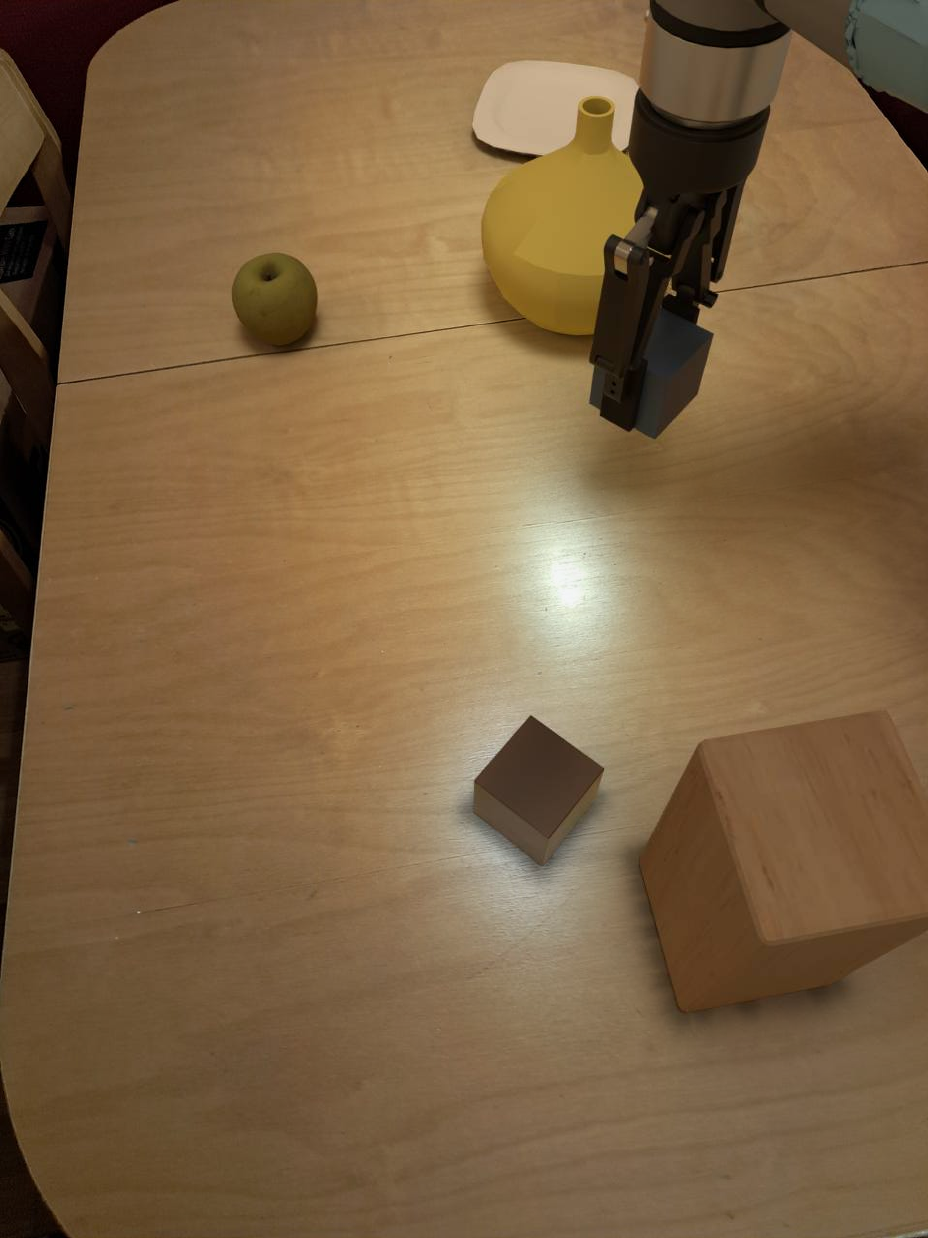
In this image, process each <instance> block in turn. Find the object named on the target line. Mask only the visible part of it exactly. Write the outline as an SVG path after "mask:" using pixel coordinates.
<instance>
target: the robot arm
mask: <svg viewBox="0 0 928 1238" xmlns="http://www.w3.org/2000/svg"><path fill="white" fill-rule="evenodd" d="M643 15H644V16H643V20H644V22H645V24H646V27H645V34H644V41H643V48H642V55H641V61H640V66H639V67H640V68H639V74H638V82H639V86H638V87H639V89H638V91H637V93H636V96H635V101H634V108H633V115H632V122H631V129H630V136H629V143H628V147H627V150H628V151H627V152H628V157H630V160H631V162H632V164H633V166H634V167H635V169H636V171H637V172H638V174H639V176H640V178H641V180H642V183H643V189H642V193H641V196H640V199H639V202H638V204H637V207H636V209H635V214H634V221H635V225H634V227H633V228H632V229H631V230H630V232H629V233H628V234H627V235H626V237H625V238H624V239H623V238H621V237H619V236H617V235H615V234H612V235H610V236H609V238H608V239H607V241H606V243H605V246H604V265H605V272H604V278H603V284H602V289H601V295H600V301H599V306H598V312H597V318H596V323H595V329H594V334H592V342H591V346H590V353H589V357H588V358H589V359H588V362H589V364H591V365H592V366H593V367H594V366H596V367H598V368H600V369H602V370H604V371H605V372H606V377H605V383H604V390H603V396H602V402H601V409H600V410H599V417H601V418H602V419H604V420H605V421H608V422H610V423H612V424H613V425H615V426H616V427H618V428H620V429H622V430H624V431H626V432H627V433H630V432H632V431H633V429H634V427H635V424H636V419H637V414H638V409H639V404H640V399H641V394H642V390H643V385H644V380H645V375H646V370H647V366H648V360H646V359H644V358H643V356H644V353H645V350H646V347H647V344H648V341H649V338H650V336H651V333H652V330H653V327H654V324H655V321H656V318H657V316H658V313H659V310H660V307H661V308H663V309H665V310H667V311H669V312H671V313H673V314H675V315H677V316H679V317H681V318H683V319H685V320H687V321H689V322H691V323H694V324H696V325H698V320H699V317H700V312H701V308H700V307H699V306H700V305H701V306H703V307H705V308H707V309H712V308H713V307H714V305H715V304H716V303H717V300H718V298H719V293H717V292H715V291H713V290H711V289H710V285H711V283H714V284H718V283H719V282H720V281H721V280H722V278H723V277H724V272H725V268H726V265H727V261H728V256H729V252H730V248H731V243H732V239H733V235H734V231H735V227H736V221H737V218H738V213H739V209H740V205H741V201H742V196H743V193H744V188H745V185H746V183H747V180H748V177H749V176H750V175H751V174H752V172H753V171H754V169H755V167H756V165H757V163H758V159H759V155H760V152H761V148H762V145H763V140H764V138H765V133H766V130H767V126H768V123H769V119H770V116H771V104H772V103H773V102H774V99H775V98H776V96H777V94H778V90H779V86H780V82H781V79H782V75H783V71H784V67H785V62H786V59H787V54H788V51H789V48H790V44H791V39H792V36H793V32H795V33H796V34H798V35H799V36H800V37H801V38H803V39H805V40H806V41H807V42H809V43H810V44H812V45H813V46H814V47H816V48H818V49H819V50H820V51H822V52H823V53H825V54H826V55H827V56H829V57H830V58H832V59H833V60H835V61H836V62H837V63H839V64H840V65H842V66H843V67H844V68H846V69H848V70H849V71H851V72H852V73H853V74H855V76H856V77H857V78H860V79H861V81H862V83H863V84H864V85H866V86H867V87H871V88H872V89H874V90H875V91H876V92H878V93H883V92H885V93H886V94H887V95H888V96H890V97H894V98H897V99H898V100H901V101H903V102H905V103H906V104H909V105H911V106H912V107H914V108H916V109H918V110H920V111H922V112H923V113H925V114H926V115H927V114H928V0H649V5H648V7H647V8H646V10H645V12H644V14H643ZM647 246H648V247H649V248H651V249H653V250H651V249H649V248H648V247H647ZM654 250H655V251H654ZM656 251H657V252H656ZM658 252H659V253H658ZM660 253H661V254H660ZM662 254H663V255H662ZM664 255H671V257H670V258H668V257H666V256H664ZM712 259H713V260H712ZM670 278H671V280H670ZM669 284H670V288H671V291H673V292H675V295H673V294H671V293H669V292H668V293H667V294H666V292H667V290H668V288H669Z"/></svg>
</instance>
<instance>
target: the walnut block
mask: <svg viewBox="0 0 928 1238" xmlns="http://www.w3.org/2000/svg"><path fill="white" fill-rule="evenodd" d="M604 771H605V767H603V766H602V765H601V764H599V763H598V762H596V761H595V760H594V759H593V758H591V757H589V756H588V755H587V754H586V753H584V752H583V751H581V750H580V749H578V748H577V747H576V746H574V745H573V744H572V743H570V742H569V741H568V740H566V739H565V738H564V737H562V736H560V735H559V734H558V733H556V731H554V730H553V729H551V728H550V727H548V726H547V725H546V724H544V723H543V722H541V720H539V719H538V718H536V717H535V716H533V715H532V714H530V715H529V716H528V717H527V718H526V719H525V721H523V722H522V724H521V725H520V726H519V727H518V728H517V730H516V731H515V732H514V733H513V734H512V735H511V737H509V739H508V740H507V741H506V742H505V744H504V745H503V746H502V747H501V749H499V751H498V752H497V753H496V754H495V755H494V757H493V758H492V759H491V760H490V761H489V762H488V764H487V765H486V766H485V767H484V768H483V769H482V770H481V772H479V774H478V775H477V776H476V777H475V778H474V780H473V813H474V814H475V815H476V816H478V817H479V818H480V819H481V820H483V821H484V822H485V823H487V824H488V825H489V826H490V827H492V828H493V829H494V830H496V831H497V832H498V833H499V834H501V835H502V836H503V837H504V838H505V839H507V840H508V841H509V842H510V843H512V844H513V845H514V846H516V847H517V848H518V849H520V850H521V851H522V852H523V853H525V854H526V855H527V856H528V857H530V858H531V859H532V860H533V861H535V862H536V863H537V864H538V865H540V866H541V867H544V866H545V865H546V863H547V862H548V861H549V859H550V858H551V857H552V856H553V854H554V853H555V852H556V851H557V849H558V848H559V846H561V844H562V843H563V842H564V841H565V839H566V838H567V836H568V835H569V834H570V833H571V832H572V830H573V829H574V827H576V825H577V824H578V822H579V821H580V820H581V819H582V818H583V816H584V815H585V813H586V812H587V811H588V810H589V809H590V807H591V806H592V805H593V804H594V802H595V800H596V796H597V793H598V790H599V787H600V784H601V781H602V778H603V775H604Z"/></svg>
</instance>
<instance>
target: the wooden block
mask: <svg viewBox="0 0 928 1238" xmlns="http://www.w3.org/2000/svg"><path fill="white" fill-rule="evenodd" d="M638 863H639V867H640V870H641V875H642V878H643V881H644V886H645V889H646V893H647V896H648V901H649V904H650V907H651V911H652V914H653V918H654V922H655V923H654V924H655V926H656V929H657V933H658V937H659V941H660V944H661V948H662V952H663V956H664V959H665V963H666V966H667V970H668V975H669V977H670V980H671V981H670V982H671V985H672V988H673V992H674V995H675V999H676V1003H677V1006H678V1007H679V1009H680V1010H681V1011H682V1012H685V1013H691V1012H692V1013H693V1012H696V1011H703V1010H708V1009H712V1008H718V1007H724V1006H728V1005H733V1004H738V1003H744V1002H750V1001H755V1000H760V999H765V998H770V997H774V996H775V997H776V996H781V995H786V994H790V993H796V992H801V991H806V990H811V989H816V988H821V987H827V986H830V985H832V984H833V983H836V982H837V981H839V980H841V979H842V978H844V977H846V976H848V975H850V974H851V973H854V972H855V971H857V970H859V969H861V968H862V967H864V966H867V965H869V964H870V963H872V962H873V961H875V960H877V959H879V958H881V957H883V956H884V955H885V954H888V953H890V952H891V951H893V950H895V949H897V948H899V947H900V946H902V945H904V944H906V943H908V942H910V941H911V940H914V939H915V938H917V937H918V936H920V935H922V934H924V933H926V932H928V796H927V793H926V792H925V789H924V787H923V785H922V783H921V781H920V778H919V776H918V774H917V772H916V770H915V767H914V765H913V763H912V760H911V758H910V756H909V754H908V752H907V750H906V747H905V745H904V742H903V741H902V738H901V736H900V734H899V731H898V729H897V727H896V725H895V722H894V721H893V717H892V715H891V714H890V713H889V712H888V711H887V710H880V709H879V710H874V711H866V712H862V713H854V714H848V715H843V716H838V717H832V718H825V719H819V720H813V721H807V722H801V723H796V724H789V725H783V726H779V727H772V728H765V729H759V730H754V731H748V732H747V731H746V732H742V733H737V734H736V733H735V734H730V735H724V736H718V737H712V738H708V739H707V738H706V739H703V740H702V741H699V742H698V744H697V745H696V747H695V749H694V751H693V753H692V755H691V757H690V759H689V761H688V764H686V767H685V769H684V771H683V773H682V775H681V776H680V779H679V780H678V782H677V784H676V786H675V788H674V790H673V792H672V794H671V796H670V798H669V800H668V802H667V804H666V806H665V807H664V810H663V811H662V813H661V815H660V817H659V819H658V821H657V823H656V825H655V827H654V829H653V831H652V833H651V835H650V836H649V838H648V841H647V843H646V845H645V847H644V848H643V850H642V853H640V856H639V861H638Z"/></svg>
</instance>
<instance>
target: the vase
mask: <svg viewBox="0 0 928 1238" xmlns="http://www.w3.org/2000/svg"><path fill="white" fill-rule="evenodd" d="M614 112H615V105H614V103H613V102H612V101H611V100H610V99H608V98H605V97H601V96H590V97H586V98H584V99H582V100H581V101H580V102H579V105H578V114H577V124H576V133H575V137H574V139H573V140H572V141H571V142H570V143H569V144H568V145H566V146H564V147H562V148H560V149H558V150H555V151H553V152H551V153H549V154H546V155H544V156H541V157H536V158H534V159H531V160H529V161H526V162H524V163H522V164H520V165H518V166H516V167H515V168H514V169H512V170H511V171H509V172H508V173H507V174H505V175H504V176H503V177H501V178H500V180H499V181H498V182H497V184H496V185H495V187H494V188H493V189H492V191H491V192H490V194H489V198H488V199H487V202H486V204H485V207H484V210H483V213H482V218H481V222H480V227H481V229H480V230H481V232H480V233H481V235H480V237H481V247H482V254H483V255H482V256H483V260H484V262H485V264H486V266H487V268H488V270H489V273H490V275H491V277H492V278H493V281H494V283H495V285H496V287H497V288H498V291H499V292H500V294H501V296H502V298H503V299H504V300H505V301H506V302H508V303H509V305H510V306H511V307H513V308H514V309H515V310H516V311H517V312H518V313H519V314H520V315H521V316H522V317H523V318H525V319H526V320H527V321H529V322H531V323H532V324H534V325H536V326H538V327H539V328H541V329H544V330H548V331H551V332H554V333H557V334H563V335H572V336H587V335H594V329H595V323H596V318H597V312H598V306H599V301H600V295H601V289H602V284H603V278H604V272H605V265H604V246H605V243H606V241H607V239H608V238H609V236H610V235H612V234H615V235H617V236H619V237H621V238H623V239H624V238H625V237H626V235H627V234H628V233H629V232H630V230H631V229H632V228H633V227H634V225H635V221H634V214H635V209H636V207H637V204H638V202H639V199H640V196H641V193H642V189H643V183H642V180H641V178H640V176H639V174H638V172H637V171H636V169H635V167H634V166H633V164H632V162H631V160H630V157H629V155H627V154H626V153H624V151H623V152H621V151H620V150H618V149H617V148H616V147H615V145H614V144H613V143H612V136H611V134H612V127H613V119H614ZM647 247H648V246H647ZM648 248H649V247H648ZM649 249H651V248H649ZM651 250H653V249H651ZM654 251H655V250H654ZM656 252H657V251H656ZM658 253H659V252H658ZM660 254H661V253H660ZM662 255H663V254H662ZM664 256H666V257H668V258H670V257H671V255H664ZM670 281H671V278H670Z"/></svg>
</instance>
